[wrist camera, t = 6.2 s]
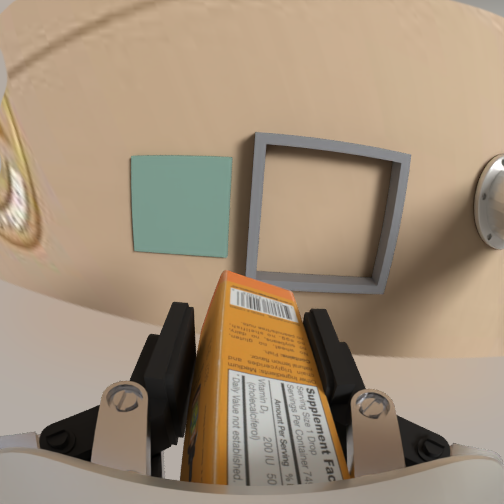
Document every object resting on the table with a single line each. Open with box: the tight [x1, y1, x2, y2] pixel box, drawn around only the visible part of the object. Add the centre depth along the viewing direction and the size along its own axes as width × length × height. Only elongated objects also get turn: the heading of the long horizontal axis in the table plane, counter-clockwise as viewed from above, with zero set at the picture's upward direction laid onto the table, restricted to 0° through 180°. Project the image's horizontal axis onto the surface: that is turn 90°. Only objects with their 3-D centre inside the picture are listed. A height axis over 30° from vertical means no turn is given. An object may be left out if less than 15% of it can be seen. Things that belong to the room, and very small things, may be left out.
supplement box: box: [180, 270, 350, 486], centre depth 8 cm, size 3×3×10 cm
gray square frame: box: [246, 132, 411, 294], centre depth 29 cm, size 15×15×2 cm
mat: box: [131, 155, 232, 258], centre depth 29 cm, size 10×10×1 cm
